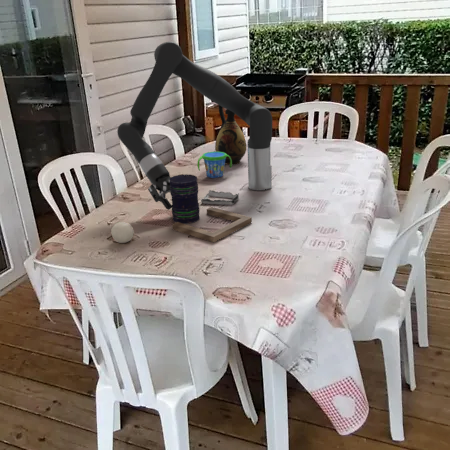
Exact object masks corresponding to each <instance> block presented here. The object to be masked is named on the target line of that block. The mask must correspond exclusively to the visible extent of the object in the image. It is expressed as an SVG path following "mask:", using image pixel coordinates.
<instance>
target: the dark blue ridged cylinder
mask: <svg viewBox="0 0 450 450" xmlns="http://www.w3.org/2000/svg"><path fill="white" fill-rule="evenodd" d="M170 177H171V178H170V179H169V181H170V192H169V193H170V196H171V203H172V204H171V205H172V208H171V214H172V215H171V216H172V221H173V222H174V223H176V222H179V223H183V224H186V225H189V224H193V223H195V222H198V221H199V220H200V219H201V217H200V210H201V209H200V203H199V195H198V194H199V184H198V182H199V181H198V177H197V176H196V175H194V174H188V173H187V174H177V175H173V176H170Z"/></svg>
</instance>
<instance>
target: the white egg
mask: <svg viewBox="0 0 450 450" xmlns="http://www.w3.org/2000/svg"><path fill="white" fill-rule="evenodd" d="M110 232H111V237H112V238H113V240H114V242H117V243H119V244H125V243H128V242H130V241H131V239H133V237H134V234H135V233H134V232H135V231H134V228H133V226H132V224H130V223H129V222H125V221H119V222H116V223H114V224H113V225H112V227H111V230H110Z"/></svg>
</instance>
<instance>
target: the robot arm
mask: <svg viewBox="0 0 450 450" xmlns="http://www.w3.org/2000/svg"><path fill="white" fill-rule="evenodd" d="M153 55H154V56H153V57H154V60H155V63H154V65H153V69H152V71H151V73H150V75H149V76H148V79H147V80H146V82H145V83H144V85H143V86H142V88H141V89H140V92H139V93H138V95H137V97H136V99H135V101H134V102H133V104H132V107H131V109H130V116H131V120H130V122H123V123H120V124H119V125H118V128H117V131H116V132H117V136H118V139H119V140H120V141H121V143H122V145H124V146H125V148H127V149H128V151H129V152H130V153H131V154H132V155H133V156H134V158H135V160H136V162H137V163H138V165H139V166H140V168H141V170H142V172H143V173H144V175H145V176H146V178H147V179H148V180H149V182H150V183H151V184H150V186H148V188H147V190H148V192H149V193H150V195H151V198H153V200H154V202H155V203H158V202H160V203H162V205H163V206H164V208H165V209H166V210H168V211H169V210H172V204H171V202H170V201H169V200H168V198H166V197H167V196H166V195H167V194H168V193H170V181H169V179H170V178H171V177H172V176H171V175H170V171H169V169H167V167H166V166H165V165H164V162H163V161H162V160H161V158H160V157H159V156H158V155H157V154H156V153H155V151H154V149H153V148H152V147H151V146H150V145H149V143H148V142H146V141H145V140H144V139H143V138H144V135H145V133H146V128H147V125H148V120H149V118H150V116H151V114H152V112H153V110H154V109H155V107H156V104H157V102H158V100H159V98H160V95H161V94H162V91H163V89H164V87H165V86H166V84H167V82H168V81H169V79H170V77H171V76H172V74H173V75H175V76H177V77H178V78H180V79H181V80H183V81H185V82H186V83H187V84H188V85H189V86H191V87H192V88H193V89H194V90H196V91H197V92H198V93H200V94H201V95H202V96H204V97H205V98H207V99H208V100H210V101H212V102H213V103H215V104H216V105H218V106H219V105H220V106H222V107H223V108H224V109H226V110H227V109H228V110H230V111H232V112H234V113H235V115H236V116H237V117H239V118H240V119H241V120H242V121H243V122H244V123H246V125H248V126H249V138H248V139H247V176H248V177H247V178H248V180H247V181H248V182H247V183H248V185H247V186H248V188H249V190H253V191H264V190H265V189H266V190H269V189H272V188H273V187H272V186H273V185H272V184H273V183H272V182H273V181H272V179H273V176H272V175H273V174H272V173H273V171H272V165H271V143H272V140H273V116H272V115H273V114H272V112H271V111H270V110H269V109H268V108H266V107H264V106H262V105H260V104H258V103H255V102H254V101H251V100H250V99H248V98H246V96H243V95H242V94H241V93H240V92H239V90H237V89H236V88H235V87H234V86H232V84H231V83H230V82H228V81H227V80H226V79H224V78H223V77H222V76H220V75H218V74H217V73H215V72H214V71H212V70H210V69H208V68H207V67H204V66H201V65H199V64H197V63H194V62H193V61H191V59H189V58H188V57H187V56H185V55H184V54H183V51H182V48H181V46H180V45H179V44H178V43H176V42H174V41H166V42H165V41H164V42H162V43H161V44H159V45H157V47H156V48H155V50H154V53H153Z"/></svg>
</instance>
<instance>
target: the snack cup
mask: <svg viewBox="0 0 450 450" xmlns="http://www.w3.org/2000/svg"><path fill="white" fill-rule="evenodd" d="M227 156H228V157H229V158H230V156H229V155H227V154H226V153H224V152H216V151H208V152H204V153H202V155H201V156H200V157H199V158H198V160H197V163H196V164H197V169H198V171H200V161H201V160H202V159H203V162H204V168H205V173H206V176H207V178H211V179H217V178H222V177H223V176H224V172H225V165H226V164H225V159H226V157H227ZM232 166H233V165H232V160H231V158H230V165H229V168H233V167H232Z"/></svg>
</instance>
